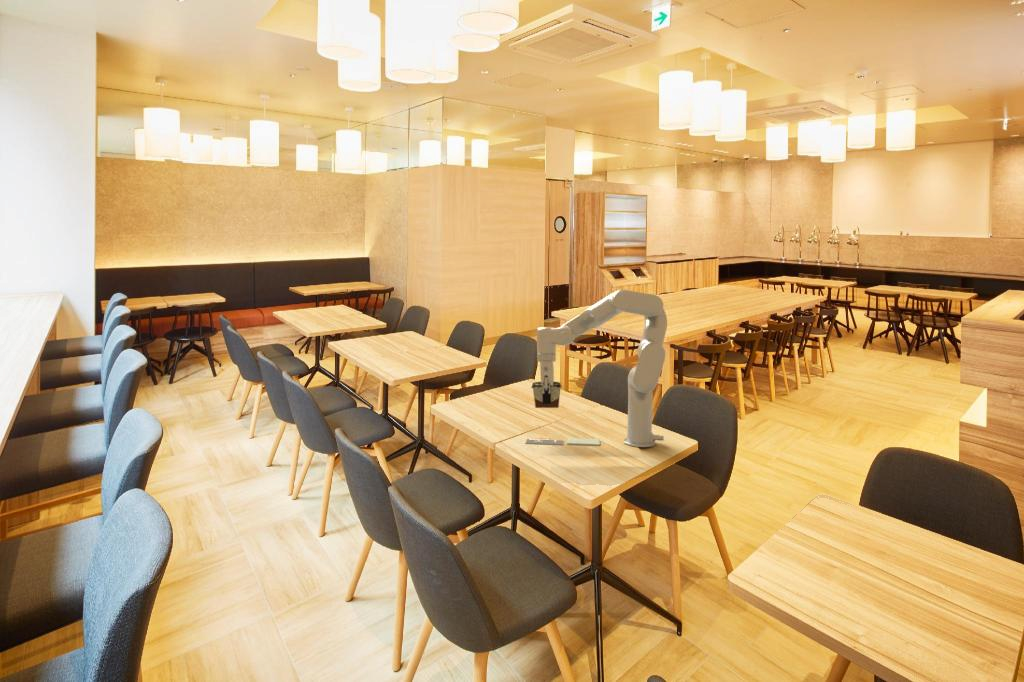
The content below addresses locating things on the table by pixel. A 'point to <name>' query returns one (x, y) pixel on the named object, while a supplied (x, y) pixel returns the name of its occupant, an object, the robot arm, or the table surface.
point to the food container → (553, 391)
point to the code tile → (545, 442)
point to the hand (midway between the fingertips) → (547, 401)
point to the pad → (583, 441)
